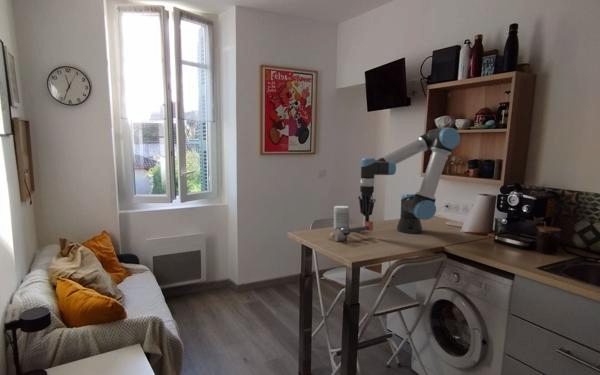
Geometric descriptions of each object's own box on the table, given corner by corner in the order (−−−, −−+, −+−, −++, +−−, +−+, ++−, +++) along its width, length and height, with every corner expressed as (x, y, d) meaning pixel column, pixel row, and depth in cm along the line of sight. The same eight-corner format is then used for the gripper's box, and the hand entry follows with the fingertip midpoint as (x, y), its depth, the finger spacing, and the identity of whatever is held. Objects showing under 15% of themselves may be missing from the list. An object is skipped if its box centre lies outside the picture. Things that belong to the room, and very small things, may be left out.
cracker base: (357, 235, 203) (357, 233, 203) (383, 243, 187) (383, 241, 186) (326, 241, 191) (326, 238, 191) (350, 250, 174) (350, 247, 174)
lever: (367, 234, 199) (368, 220, 198) (373, 236, 195) (374, 222, 194) (333, 240, 187) (333, 225, 186) (338, 242, 182) (339, 226, 181)
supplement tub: (352, 230, 216) (352, 207, 214) (340, 232, 210) (340, 208, 209) (341, 227, 224) (342, 204, 222) (330, 229, 218) (330, 206, 217)
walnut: (335, 237, 193) (335, 231, 192) (341, 239, 189) (341, 233, 188) (328, 238, 190) (328, 232, 190) (334, 240, 186) (334, 234, 186)
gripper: (354, 184, 200) (353, 224, 203) (368, 187, 188) (367, 229, 191) (365, 184, 203) (364, 223, 206) (379, 186, 192) (378, 228, 195)
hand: (365, 226), depth 199 cm, fingers closed
